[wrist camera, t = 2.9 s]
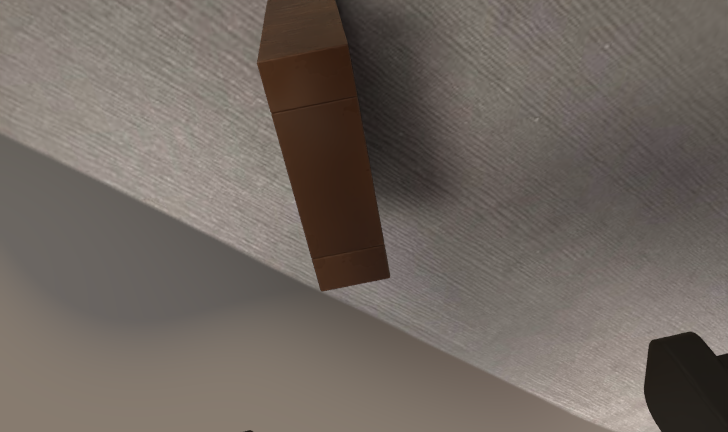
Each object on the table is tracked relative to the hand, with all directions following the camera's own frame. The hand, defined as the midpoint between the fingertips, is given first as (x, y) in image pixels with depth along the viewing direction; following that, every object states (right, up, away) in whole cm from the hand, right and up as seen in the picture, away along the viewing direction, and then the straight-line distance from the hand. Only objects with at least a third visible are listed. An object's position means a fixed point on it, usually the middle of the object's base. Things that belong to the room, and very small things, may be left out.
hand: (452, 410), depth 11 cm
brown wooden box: (-4, +10, +17) cm, 20 cm away
